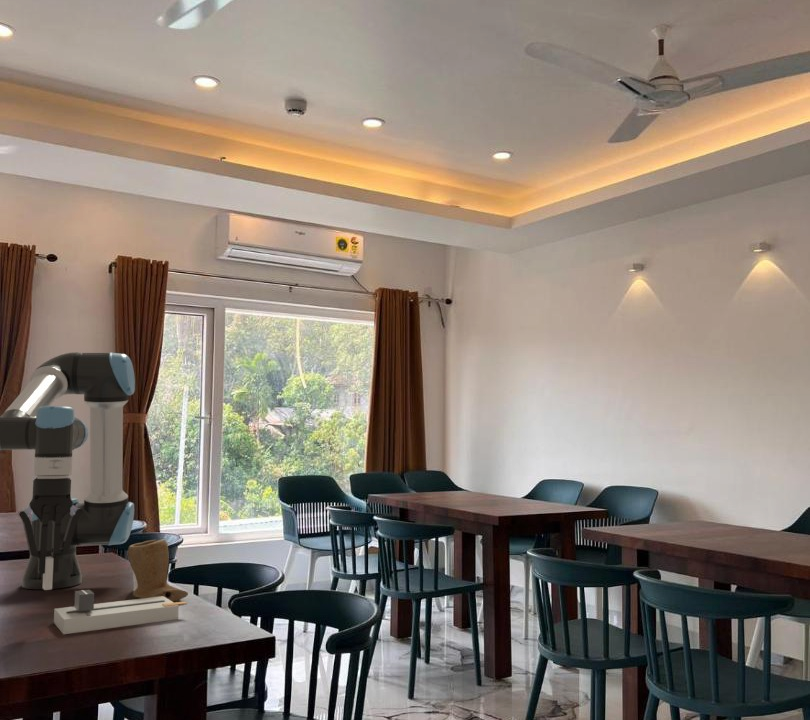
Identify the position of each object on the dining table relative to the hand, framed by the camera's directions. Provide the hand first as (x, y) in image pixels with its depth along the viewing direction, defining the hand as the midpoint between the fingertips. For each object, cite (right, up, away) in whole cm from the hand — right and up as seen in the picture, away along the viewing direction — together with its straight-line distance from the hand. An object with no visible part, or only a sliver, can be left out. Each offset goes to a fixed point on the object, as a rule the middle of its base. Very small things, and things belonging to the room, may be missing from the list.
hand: (47, 588), depth 163 cm
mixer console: (+13, -9, +8) cm, 18 cm away
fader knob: (+6, -6, +4) cm, 9 cm away
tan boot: (+13, -12, +29) cm, 34 cm away
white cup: (+7, -13, +41) cm, 44 cm away
